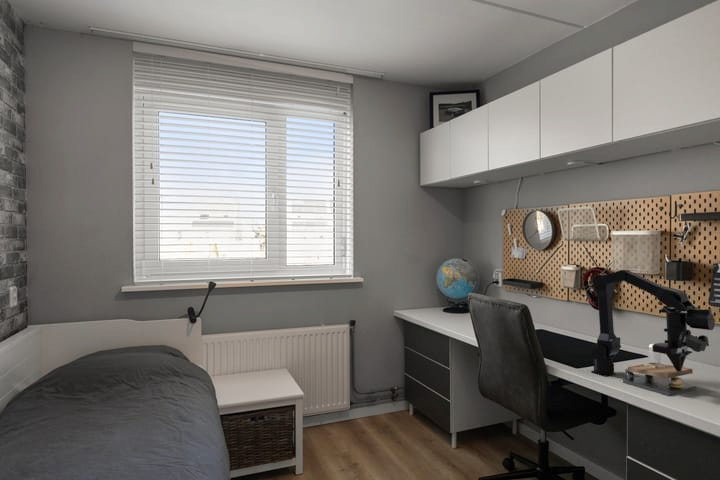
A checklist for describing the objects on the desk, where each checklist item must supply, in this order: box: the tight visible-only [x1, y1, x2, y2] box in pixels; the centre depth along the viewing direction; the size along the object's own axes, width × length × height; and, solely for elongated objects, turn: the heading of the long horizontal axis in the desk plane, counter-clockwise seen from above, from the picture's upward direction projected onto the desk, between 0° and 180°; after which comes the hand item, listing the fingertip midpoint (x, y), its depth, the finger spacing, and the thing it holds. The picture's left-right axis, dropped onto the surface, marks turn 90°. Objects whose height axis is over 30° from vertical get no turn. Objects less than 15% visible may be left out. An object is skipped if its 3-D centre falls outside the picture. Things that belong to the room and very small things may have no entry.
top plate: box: [624, 362, 693, 379], centre depth 158 cm, size 15×14×3 cm
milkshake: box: [648, 341, 665, 364], centre depth 183 cm, size 4×5×10 cm
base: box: [622, 372, 698, 397], centre depth 157 cm, size 16×16×4 cm
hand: (678, 371), depth 151 cm, fingers closed, pressing on top plate
